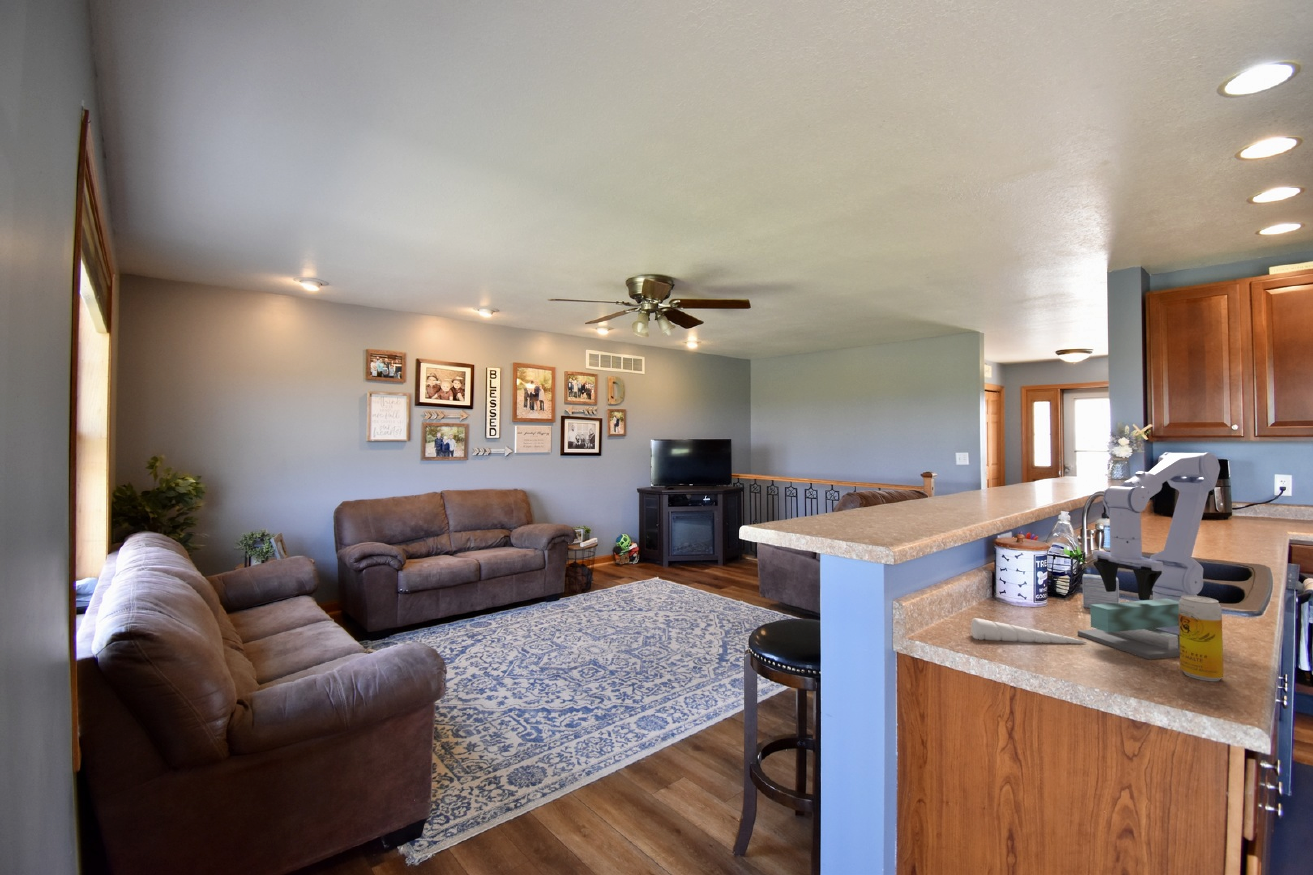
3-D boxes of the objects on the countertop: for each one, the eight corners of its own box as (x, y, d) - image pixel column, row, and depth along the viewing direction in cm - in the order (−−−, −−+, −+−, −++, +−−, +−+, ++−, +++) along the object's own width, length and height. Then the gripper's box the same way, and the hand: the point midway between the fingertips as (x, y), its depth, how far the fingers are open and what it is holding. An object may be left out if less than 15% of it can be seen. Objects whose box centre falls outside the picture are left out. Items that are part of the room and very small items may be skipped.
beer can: (1171, 670, 113) (1169, 595, 113) (1199, 669, 114) (1197, 594, 114) (1203, 683, 107) (1201, 603, 107) (1232, 681, 107) (1230, 602, 108)
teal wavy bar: (1167, 619, 133) (1167, 598, 133) (1187, 625, 129) (1186, 603, 129) (1090, 626, 128) (1090, 604, 128) (1108, 632, 124) (1107, 609, 124)
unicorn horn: (1095, 650, 125) (1094, 628, 125) (975, 642, 131) (974, 621, 131) (1085, 643, 130) (1084, 622, 130) (969, 635, 136) (969, 615, 136)
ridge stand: (1131, 629, 138) (1131, 613, 138) (1208, 653, 122) (1207, 634, 122) (1077, 634, 134) (1077, 618, 135) (1148, 659, 119) (1148, 640, 119)
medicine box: (1119, 608, 156) (1118, 577, 156) (1119, 612, 152) (1118, 580, 153) (1083, 603, 161) (1082, 573, 161) (1082, 607, 157) (1082, 576, 157)
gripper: (1082, 533, 139) (1083, 589, 139) (1144, 543, 125) (1146, 605, 125) (1105, 532, 140) (1106, 587, 140) (1169, 541, 126) (1171, 602, 126)
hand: (1127, 595), depth 132 cm, fingers open, 7 cm apart
